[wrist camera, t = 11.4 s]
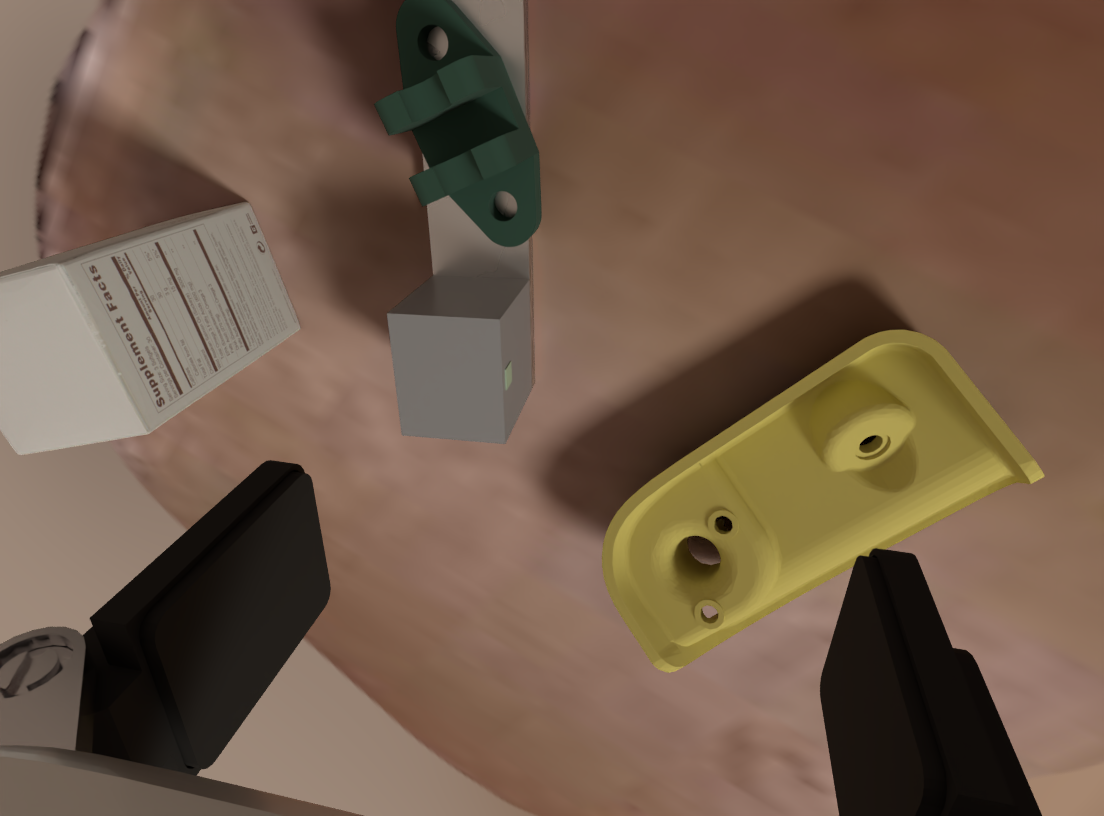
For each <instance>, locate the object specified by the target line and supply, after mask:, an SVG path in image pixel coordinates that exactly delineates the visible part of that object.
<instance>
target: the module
mask: <svg viewBox="0 0 1104 816" xmlns="http://www.w3.org/2000/svg"><path fill="white" fill-rule="evenodd" d="M387 319H388V327H389V335H390V343H391V351H392V359H393V368H394V376H395V384H396V392H397V400H398V408H399V416H400V424H401V432H402V435H405V436H416V437H428V438H440V439H452V440H463V441H475V442H487V443H499V444H506V442H507V440H508V437H509V435H510V433H511V431H512V429H513V427H514V425H515V423H516V421H517V419H518V417H519V415H520V413H521V411H522V408H523V406H524V404H525V402H526V400H527V398H528V396H529V394H530V392H531V390H532V370H531V326H530V281H529V279H506V278H483V277H461V276H438V275H433V276H432V277H430V278H429V279H428V280H427V281H426V282H424V283H423V284H422V285H421V286H420V287H418V288H417V289H416V290H415V291H413V292H412V293H411V294H410V295H409V296H407V297H406V298H405V299H404V300H402V301H401V302H400V303H399V304H398V305H396V306H395V307H394V308H393V309H391V310H390V311H389V312H388V313H387Z"/></svg>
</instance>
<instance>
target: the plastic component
mask: <svg viewBox="0 0 1104 816" xmlns="http://www.w3.org/2000/svg"><path fill="white" fill-rule="evenodd" d="M873 435H877V436H876V438H875V439H874V440H873V441H872V442H871V443H868V444H866V445H860V443H861V442H862V441H863V440H864V439H865V438H867V437H870V436H873ZM1043 477H1044V474H1043V472H1042V470H1041V469H1040V467H1039V466H1038V464H1037V463H1036V462H1035V460H1034V459H1033V458H1032V456H1031V455H1030V454H1029V453H1028V451H1027V450H1026V449H1025V448H1024V446H1023V445H1022V444H1021V443H1020V441H1019V440H1018V439H1017V438H1016V436H1015V435H1014V434H1013V433H1012V431H1011V430H1010V429H1009V428H1008V426H1007V425H1006V424H1005V422H1004V421H1003V420H1002V419H1001V417H1000V416H999V415H998V414H997V412H996V411H995V410H994V409H993V407H992V406H991V405H990V404H989V402H988V401H987V400H986V399H985V397H984V396H983V395H982V394H981V392H980V391H979V390H978V389H977V387H976V386H975V385H974V384H973V382H972V381H971V380H970V379H969V377H968V376H967V375H966V374H965V372H964V371H963V370H962V369H961V367H960V366H959V365H958V364H957V362H956V361H955V360H954V359H953V357H952V356H951V355H950V354H949V352H948V351H947V350H946V349H945V348H944V347H943V346H942V345H940V344H939V343H938V342H937V341H935V340H934V339H932V338H930V337H928V336H926V335H923V334H921V333H919V332H913V331H908V330H888V331H883V332H878V333H876V334H873V335H871V336H868V337H866V338H864V339H862V340H861V341H859V342H858V343H856V344H855V345H853V346H852V347H850V348H849V349H847V350H846V351H844V352H843V353H841V354H840V355H838V356H837V357H835V358H834V359H832V360H831V361H829V362H828V363H826V364H825V365H823V366H822V367H820V368H818V369H817V370H815V371H814V372H812V373H811V374H809V375H808V376H806V377H805V378H803V379H802V380H800V381H799V382H797V383H796V384H794V385H793V386H791V387H790V388H788V389H787V390H785V391H784V392H782V393H781V394H779V395H778V396H776V397H775V398H773V399H771V400H770V401H768V402H767V403H765V404H764V405H762V406H761V407H759V408H758V409H756V410H755V411H753V412H752V413H750V414H749V415H747V416H746V417H744V418H743V419H741V420H740V421H738V422H737V423H735V424H734V425H732V426H731V427H729V428H728V429H726V430H725V431H723V432H721V433H720V434H718V435H717V436H715V437H714V438H712V439H711V440H709V441H708V442H706V443H705V444H703V445H702V446H700V447H699V448H697V449H696V450H694V451H693V452H691V453H690V454H688V455H687V456H685V457H684V458H682V459H681V460H679V461H678V462H676V463H675V464H673V465H672V466H670V467H669V468H668V469H666V470H665V471H663V472H662V473H660V474H659V475H657V476H656V477H655V478H653V479H652V480H650V481H649V482H648V483H647V484H645V485H644V486H643V487H642V488H640V489H639V490H638V491H637V492H636V493H635V494H634V495H632V496H631V497H630V498H629V499H628V500H627V501H626V502H625V503H624V504H623V506H622V507H621V508H620V509H619V510H618V512H617V513H616V515H615V516H614V518H613V519H612V521H611V523H610V525H609V527H608V530H607V532H606V535H605V539H604V543H603V551H602V568H603V575H604V580H605V583H606V586H607V590H608V592H609V594H610V597H611V599H612V601H613V603H614V605H615V607H616V608H617V610H618V612H619V613H620V615H621V617H622V618H623V620H624V621H625V623H626V624H627V626H628V627H629V629H630V631H631V632H632V634H633V635H634V637H635V638H636V640H637V641H638V643H639V644H640V646H641V647H642V649H643V650H644V652H645V653H646V655H647V656H648V658H649V660H650V661H651V663H652V664H653V665H654V666H655V667H656V668H657V669H659V670H662V671H664V672H667V673H669V672H674V671H676V670H678V669H680V668H682V667H684V666H686V665H687V664H689V663H690V662H692V661H694V660H695V659H697V658H698V657H700V656H701V655H703V654H704V653H706V652H707V651H709V650H711V649H712V648H714V647H715V646H717V645H718V644H720V643H722V642H723V641H725V640H727V639H728V638H730V637H731V636H733V635H735V634H736V633H738V632H739V631H741V630H743V629H744V628H746V627H748V626H749V625H751V624H753V623H754V622H756V621H758V620H759V619H761V618H763V617H764V616H766V615H768V614H770V613H771V612H773V611H775V610H776V609H778V608H780V607H782V606H783V605H785V604H787V603H788V602H790V601H792V600H794V599H795V598H797V597H799V596H801V595H802V594H804V593H806V592H808V591H810V590H811V589H813V588H815V587H817V586H818V585H820V584H822V583H824V582H826V581H827V580H829V579H831V578H833V577H835V576H837V575H838V574H840V573H842V572H844V571H846V570H847V569H849V568H851V567H853V566H854V564H855V561H856V558H857V557H858V556H860V555H861V556H869V554H870V552H871V551H872V549H874V548H878V549H887V548H889V547H891V546H892V545H894V544H896V543H898V542H900V541H902V540H904V539H906V538H907V537H909V536H911V535H913V534H915V533H917V532H919V531H921V530H922V529H924V528H926V527H928V526H930V525H932V524H934V523H936V522H937V521H939V520H941V519H943V518H945V517H947V516H949V515H951V514H952V513H954V512H956V511H958V510H960V509H962V508H964V507H966V506H967V505H969V504H971V503H973V502H975V501H977V500H979V499H981V498H983V497H985V496H987V495H989V494H991V493H993V492H995V491H997V490H999V489H1001V488H1004V487H1006V486H1008V485H1011V484H1013V483H1017V482H1019V483H1027V484H1032V483H1033V482H1035V481H1037V480H1039V479H1041V478H1043ZM719 516H726V517H728V518H729V519H730V520H731V521H732V526H733V528H732V529H731V530H730V531H728V530H727V529H726V528H725V527H724V526H723V524H724V520H722V519H719V520H718V521H717V522H716V518H717V517H719ZM689 536H701V537H704V538H706V539H708V540H709V541H711V542H712V543H713V544H714V545H715V546H716V548H717V549H718V551H719V554H720V559H721V562H720V563H717V564H713V565H708V564H703V563H700V562H699V561H698V560H696V559H695V558H694V557H693V556H692V554H691V553H690V552H689V549H688V543H687V539H688V537H689ZM706 605H708V606H713V607H714V608H715V609H716V610H717V612H718V614H716V615H714V616H712V617H711V618H707V617H706V616H705V615H704V614H703V611H702V607H704V606H706Z"/></svg>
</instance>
